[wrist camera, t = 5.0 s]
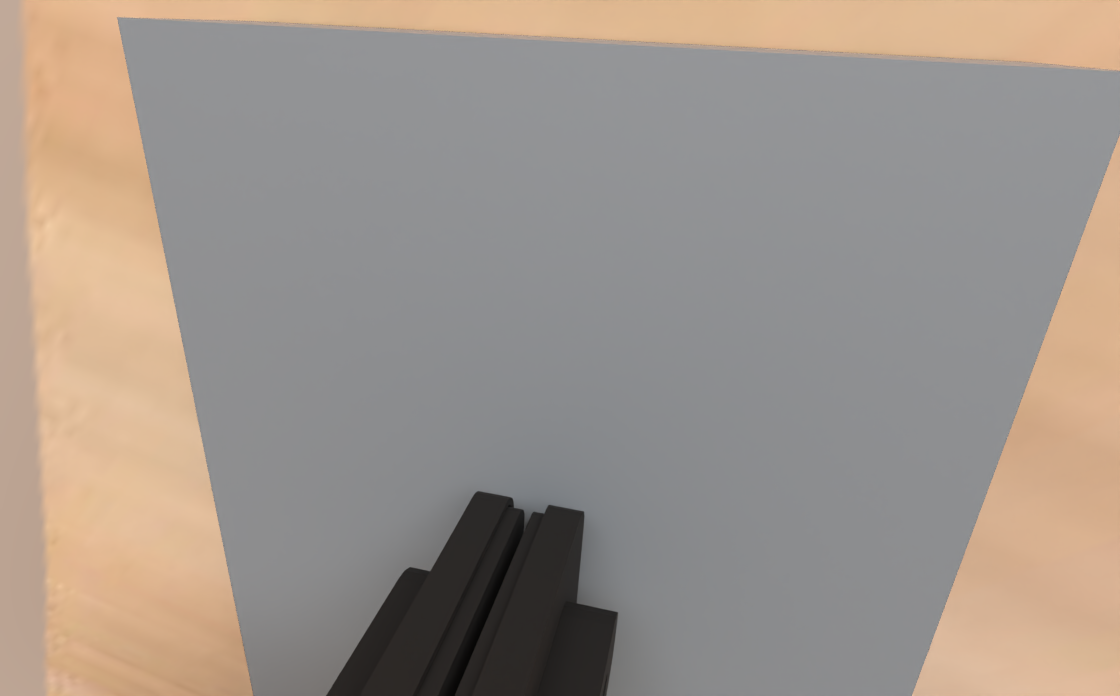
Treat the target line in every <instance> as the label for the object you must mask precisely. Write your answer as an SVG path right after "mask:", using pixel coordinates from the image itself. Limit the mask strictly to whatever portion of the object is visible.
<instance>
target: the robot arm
mask: <svg viewBox="0 0 1120 696" xmlns="http://www.w3.org/2000/svg"><path fill="white" fill-rule="evenodd" d="M524 518H525V517H524V510H523V509H518V508H514V502H513V498H511V497H507V496H502V495H497V494H491V493H486V492H481V491H477V492H476V493H475V494H474V495H473V497H472V499H471V500H470V502H469V504H468V506H467V507H466V509H465V511H464V513H463V515H462V516H461V518H460V520H459V522H458V523H457V525H456V527H455V529H454V530H453V532H452V534H451V536H450V537H449V539H448V541H447V543H446V544H445V546H444V548H443V550H442V551H441V553H440V555H439V557H438V559H437V560H436V562H435V564H434V566H433V567H432V569H431V571H427V570H422V569H417V568H413V567H409V568H408V569H406V570H405V571H404V572H403V573H402V575H401V576H400V577H399V579H398V580H397V582H396V583H395V585H394V587H393V588H392V590H391V592H390V593H389V595H388V596H387V598H386V600H385V601H384V603H383V604H382V606H381V608H380V609H379V611H378V613H377V614H376V616H375V617H374V619H373V621H372V622H371V624H370V626H369V627H368V629H367V630H366V632H365V634H364V635H363V637H362V638H361V640H360V642H359V643H358V645H357V647H356V648H355V650H354V651H353V653H352V655H351V656H350V658H349V659H348V661H347V663H346V664H345V666H344V668H343V669H342V671H341V672H340V674H339V676H338V677H337V679H336V680H335V682H334V684H333V685H332V687H331V689H330V690H329V692H328V693H327V695H326V696H606V695H607V689H608V683H609V677H610V671H611V665H612V658H613V651H614V644H615V636H616V628H617V619H618V612H615V611H610V610H606V609H601V608H596V607H592V606H587V605H583V604H578V603H577V594H578V583H579V572H580V561H581V551H582V540H583V529H584V511H579V510H574V509H569V508H564V507H559V506H553V505H548V506H547V508H546V511H545V513H539V512H533V513H532V515H531V517H530V519H529V521H528V524H527V526H526V529H525V531H524Z"/></svg>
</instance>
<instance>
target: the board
mask: <svg viewBox="0 0 1120 696" xmlns="http://www.w3.org/2000/svg"><path fill="white" fill-rule="evenodd" d="M117 19H118V24H119V29H120V34H121V39H122V44H123V49H124V54H125V59H126V64H127V69H128V74H129V79H130V84H131V88H132V93H133V98H134V103H135V108H136V113H137V118H138V123H139V128H140V133H141V138H142V143H143V148H144V153H145V158H146V163H147V168H148V173H149V178H150V183H151V188H152V193H153V198H154V203H155V208H156V213H157V218H158V223H159V228H160V233H161V238H162V243H163V248H164V253H165V258H166V263H167V268H168V273H169V277H170V282H171V287H172V292H173V297H174V302H175V307H176V312H177V317H178V322H179V327H180V332H181V337H182V342H183V347H184V352H185V357H186V362H187V367H188V372H189V377H190V382H191V387H192V392H193V397H194V402H195V407H196V412H197V417H198V422H199V427H200V432H201V437H202V442H203V447H204V452H205V457H206V462H207V467H208V471H209V476H210V481H211V486H212V491H213V496H214V501H215V506H216V511H217V516H218V521H219V526H220V531H221V536H222V541H223V546H224V551H225V556H226V561H227V566H228V571H229V576H230V581H231V586H232V591H233V596H234V601H235V606H236V611H237V616H238V621H239V626H240V631H241V636H242V641H243V646H244V651H245V656H246V660H247V665H248V670H249V675H250V680H251V685H252V690H253V695H254V696H326V695H327V693H328V692H329V690H330V689H331V687H332V685H333V684H334V682H335V680H336V679H337V677H338V676H339V674H340V672H341V671H342V669H343V668H344V666H345V664H346V663H347V661H348V659H349V658H350V656H351V655H352V653H353V651H354V650H355V648H356V647H357V645H358V643H359V642H360V640H361V638H362V637H363V635H364V634H365V632H366V630H367V629H368V627H369V626H370V624H371V622H372V621H373V619H374V617H375V616H376V614H377V613H378V611H379V609H380V608H381V606H382V604H383V603H384V601H385V600H386V598H387V596H388V595H389V593H390V592H391V590H392V588H393V587H394V585H395V583H396V582H397V580H398V579H399V577H400V576H401V575H402V573H403V572H404V571H405V570H406V569H408V568H409V567H413V568H417V569H422V570H427V571H431V569H432V567H433V566H434V564H435V562H436V560H437V559H438V557H439V555H440V553H441V551H442V550H443V548H444V546H445V544H446V543H447V541H448V539H449V537H450V536H451V534H452V532H453V530H454V529H455V527H456V525H457V523H458V522H459V520H460V518H461V516H462V515H463V513H464V511H465V509H466V507H467V506H468V504H469V502H470V500H471V499H472V497H473V495H474V494H475V493H476V492H477V491H481V492H486V493H491V494H497V495H502V496H507V497H511V498H513V502H514V508H518V509H523V510H524V517H525V518H524V531H525V529H526V526H527V524H528V521H529V519H530V517H531V515H532V513H533V512H539V513H545V511H546V508H547V506H548V505H553V506H559V507H564V508H569V509H574V510H579V511H584V529H583V540H582V551H581V561H580V572H579V583H578V594H577V603H578V604H583V605H587V606H592V607H596V608H601V609H606V610H610V611H615V612H618V619H617V628H616V636H615V644H614V651H613V658H612V665H611V671H610V677H609V683H608V689H607V695H606V696H912V693H913V691H914V688H915V685H916V683H917V680H918V677H919V674H920V672H921V669H922V666H923V664H924V661H925V658H926V656H927V653H928V650H929V647H930V645H931V642H932V639H933V637H934V634H935V631H936V629H937V626H938V623H939V621H940V618H941V615H942V612H943V610H944V607H945V604H946V602H947V599H948V596H949V594H950V591H951V588H952V585H953V583H954V580H955V577H956V575H957V572H958V569H959V567H960V564H961V561H962V558H963V556H964V553H965V550H966V548H967V545H968V542H969V540H970V537H971V534H972V531H973V529H974V526H975V523H976V521H977V518H978V515H979V513H980V510H981V507H982V504H983V502H984V499H985V496H986V494H987V491H988V488H989V486H990V483H991V480H992V477H993V475H994V472H995V469H996V467H997V464H998V461H999V459H1000V456H1001V453H1002V450H1003V448H1004V445H1005V442H1006V440H1007V437H1008V434H1009V432H1010V429H1011V426H1012V423H1013V421H1014V418H1015V415H1016V413H1017V410H1018V407H1019V405H1020V402H1021V399H1022V396H1023V394H1024V391H1025V388H1026V386H1027V383H1028V380H1029V378H1030V375H1031V372H1032V369H1033V367H1034V364H1035V361H1036V359H1037V356H1038V353H1039V351H1040V348H1041V345H1042V342H1043V340H1044V337H1045V334H1046V332H1047V329H1048V326H1049V324H1050V321H1051V318H1052V315H1053V313H1054V310H1055V307H1056V305H1057V302H1058V299H1059V297H1060V294H1061V291H1062V288H1063V286H1064V283H1065V280H1066V278H1067V275H1068V272H1069V270H1070V267H1071V264H1072V261H1073V259H1074V256H1075V253H1076V251H1077V248H1078V245H1079V243H1080V240H1081V237H1082V234H1083V232H1084V229H1085V226H1086V224H1087V221H1088V218H1089V216H1090V213H1091V210H1092V207H1093V205H1094V202H1095V199H1096V197H1097V194H1098V191H1099V189H1100V186H1101V183H1102V180H1103V178H1104V175H1105V172H1106V170H1107V167H1108V164H1109V162H1110V159H1111V156H1112V153H1113V151H1114V148H1115V145H1116V143H1117V140H1118V137H1119V135H1120V71H1117V70H1107V69H1096V68H1085V67H1074V66H1063V65H1053V64H1042V63H1031V62H1013V61H994V60H975V59H957V58H938V57H919V56H900V55H881V54H862V53H843V52H824V51H806V50H787V49H768V48H749V47H730V46H711V45H692V44H673V43H655V42H636V41H617V40H598V39H579V38H560V37H541V36H522V35H504V34H485V33H466V32H447V31H428V30H409V29H390V28H371V27H353V26H334V25H315V24H296V23H277V22H258V21H225V20H190V19H155V18H120V17H117Z"/></svg>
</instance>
